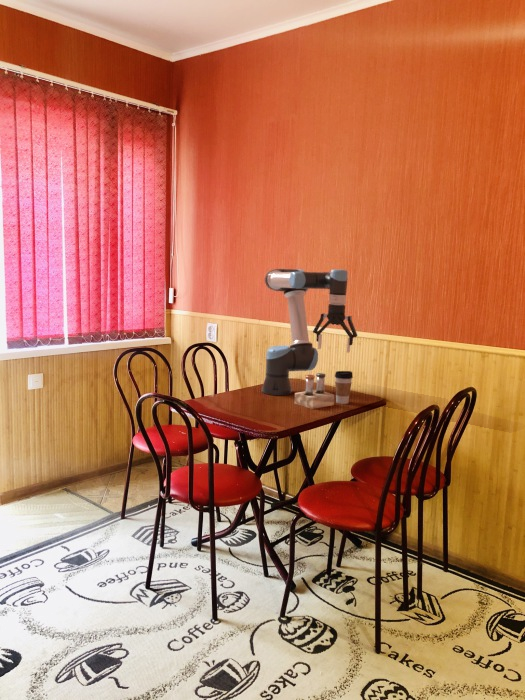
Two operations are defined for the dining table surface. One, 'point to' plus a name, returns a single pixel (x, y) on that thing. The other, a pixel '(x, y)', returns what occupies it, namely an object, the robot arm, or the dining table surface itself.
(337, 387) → the coffee cup
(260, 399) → the dining table surface
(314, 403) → the beech block
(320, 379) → the grey capped glass jar
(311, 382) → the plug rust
